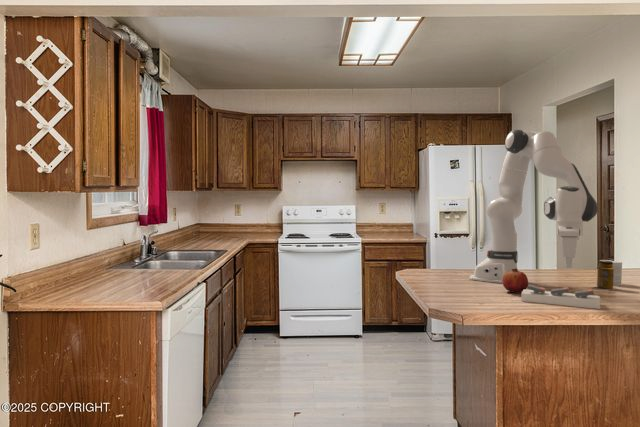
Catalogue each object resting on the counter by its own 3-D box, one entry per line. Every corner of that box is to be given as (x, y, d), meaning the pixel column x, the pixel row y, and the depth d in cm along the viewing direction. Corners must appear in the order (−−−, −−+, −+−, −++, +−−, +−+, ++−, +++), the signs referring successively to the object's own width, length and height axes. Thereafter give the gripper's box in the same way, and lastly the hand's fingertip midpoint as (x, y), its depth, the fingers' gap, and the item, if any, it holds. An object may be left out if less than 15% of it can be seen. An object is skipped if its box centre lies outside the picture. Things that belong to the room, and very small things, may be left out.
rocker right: (575, 296, 175) (574, 292, 175) (575, 294, 179) (574, 290, 179) (594, 294, 172) (593, 290, 172) (593, 292, 176) (592, 288, 176)
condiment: (617, 289, 207) (618, 261, 207) (607, 291, 203) (608, 263, 202) (599, 286, 213) (600, 259, 213) (589, 288, 209) (590, 261, 208)
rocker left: (527, 288, 183) (528, 285, 183) (528, 287, 186) (529, 283, 186) (544, 293, 180) (545, 290, 180) (544, 291, 184) (545, 288, 183)
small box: (598, 282, 223) (598, 260, 222) (609, 282, 223) (610, 259, 223) (609, 285, 215) (610, 262, 214) (621, 285, 215) (622, 262, 215)
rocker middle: (551, 294, 179) (550, 290, 179) (551, 292, 182) (550, 288, 182) (569, 292, 176) (568, 288, 176) (569, 290, 180) (568, 286, 180)
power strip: (521, 301, 183) (521, 292, 182) (523, 296, 190) (523, 288, 190) (600, 308, 170) (600, 299, 170) (599, 303, 178) (599, 294, 178)
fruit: (528, 295, 192) (529, 271, 192) (502, 294, 196) (502, 269, 195) (527, 291, 202) (527, 267, 202) (501, 289, 206) (502, 266, 205)
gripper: (560, 228, 188) (560, 263, 188) (559, 231, 170) (559, 270, 170) (578, 228, 185) (578, 264, 185) (579, 232, 167) (579, 271, 167)
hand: (569, 267), depth 178 cm, fingers closed
